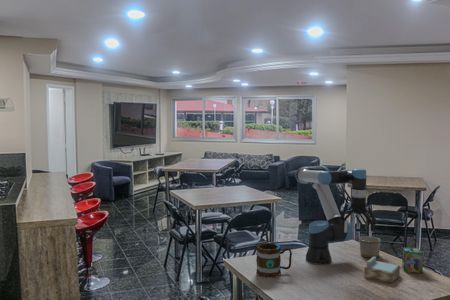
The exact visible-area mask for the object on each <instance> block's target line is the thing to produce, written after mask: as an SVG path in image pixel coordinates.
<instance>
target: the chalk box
mask: <svg viewBox="0 0 450 300" xmlns="http://www.w3.org/2000/svg"><path fill="white" fill-rule="evenodd" d="M401 248H402V249H401V252H402V253H401V254H402V256H401V257H402V258H401V260H402V261H401V262H402V263H401V267H402V269H403V271H404V272H405V273H414V274H415V273H418V274H423V271H424V270H423V269H424V268H423V266H424V265H423V256H424V255H423V252H422V251H421V249H420V248H418V247H413V246H412V244H411V242H409V247H401Z"/></svg>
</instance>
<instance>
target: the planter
mask: <svg viewBox="0 0 450 300" xmlns="http://www.w3.org/2000/svg"><path fill="white" fill-rule="evenodd" d="M380 250H381V238H379V237H375V236H371V237H369V235H368V236H367V235H365V236H360V237H359V253H360V255H361V257H364V258H369V259H371V258H372V257H376V258H378V257H379V256H380V252H381V251H380Z"/></svg>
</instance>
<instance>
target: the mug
mask: <svg viewBox="0 0 450 300" xmlns="http://www.w3.org/2000/svg"><path fill="white" fill-rule="evenodd" d="M281 248H282V246H281V245H279V244H277V243H271V242H265V243H264V242H263V243H259V244H257V245H256V275H258V276H259V277H261V278H267V277H269V278H268V279H271V278H270V277H272V278H277V277H276V276H278V277H279V276H280V275H281V269H282V270H290V269H291V267H292V255H293V253H292V249H291V248H288V247H286V248H284V249H282V250H281ZM286 251H289V258H288V266H283V265H281V262H282V259H281V255H282V254H284V253H285V252H286ZM279 274H280V275H279Z"/></svg>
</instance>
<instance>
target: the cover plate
mask: <svg viewBox="0 0 450 300" xmlns="http://www.w3.org/2000/svg"><path fill="white" fill-rule="evenodd" d="M383 262H384V261H379V262H378V260H377V257H372V258H369V260H367V261H366V266H365V267H367V268H372V269H376V270H381V271H385V272H390V273H392V274H393V273H394V272H395V271H396V270H397V269H398V266H399V265H398V266H397V264H394V265H392V263H389V264H387V263H388V262H384V263H383Z"/></svg>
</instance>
